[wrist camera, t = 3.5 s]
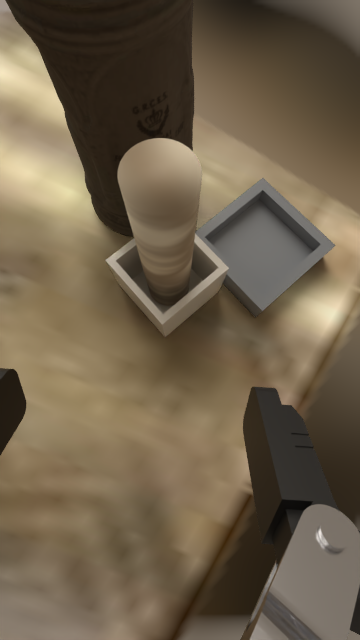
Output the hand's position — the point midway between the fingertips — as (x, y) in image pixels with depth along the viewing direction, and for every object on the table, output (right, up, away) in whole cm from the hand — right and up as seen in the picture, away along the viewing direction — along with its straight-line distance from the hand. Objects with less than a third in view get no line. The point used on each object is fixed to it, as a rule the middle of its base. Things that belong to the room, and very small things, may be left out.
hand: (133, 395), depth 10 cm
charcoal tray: (+10, +10, +21) cm, 25 cm away
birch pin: (+1, +6, +19) cm, 20 cm away
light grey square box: (+1, +6, +20) cm, 21 cm away
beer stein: (-4, +18, +23) cm, 29 cm away
